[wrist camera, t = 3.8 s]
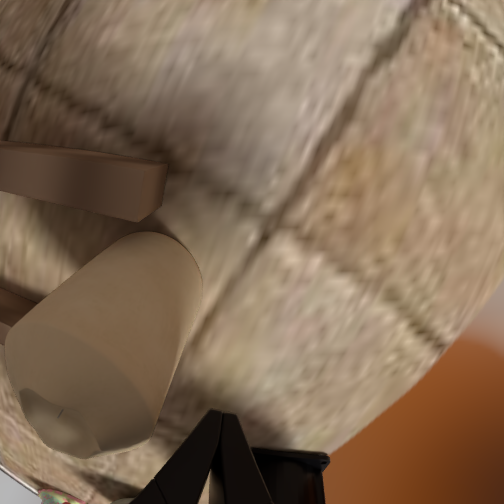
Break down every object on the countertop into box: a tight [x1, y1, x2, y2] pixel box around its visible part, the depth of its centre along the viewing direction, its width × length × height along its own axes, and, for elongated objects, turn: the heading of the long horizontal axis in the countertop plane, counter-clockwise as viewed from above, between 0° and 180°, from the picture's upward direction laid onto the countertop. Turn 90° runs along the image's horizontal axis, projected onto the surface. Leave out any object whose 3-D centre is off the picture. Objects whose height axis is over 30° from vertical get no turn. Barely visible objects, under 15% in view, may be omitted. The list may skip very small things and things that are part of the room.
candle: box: [5, 231, 203, 459], centre depth 11 cm, size 6×6×10 cm
